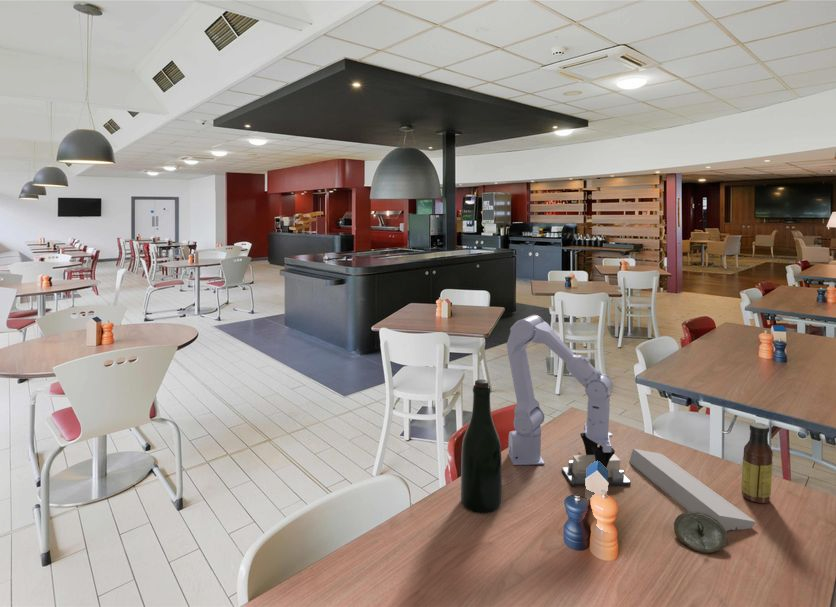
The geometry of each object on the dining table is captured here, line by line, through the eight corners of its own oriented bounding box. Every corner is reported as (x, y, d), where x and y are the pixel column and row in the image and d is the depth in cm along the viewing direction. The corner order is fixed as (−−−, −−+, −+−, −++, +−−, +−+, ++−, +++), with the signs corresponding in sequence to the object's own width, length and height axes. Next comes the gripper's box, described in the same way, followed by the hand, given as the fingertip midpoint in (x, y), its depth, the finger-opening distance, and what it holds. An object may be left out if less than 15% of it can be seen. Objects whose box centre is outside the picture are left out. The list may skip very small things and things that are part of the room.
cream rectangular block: (576, 478, 134) (577, 461, 134) (572, 471, 138) (573, 455, 137) (619, 477, 135) (620, 460, 134) (614, 470, 138) (614, 454, 137)
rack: (572, 487, 132) (572, 475, 131) (561, 470, 141) (562, 459, 140) (630, 485, 132) (631, 473, 132) (616, 468, 141) (617, 457, 140)
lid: (728, 537, 110) (730, 516, 109) (724, 561, 102) (726, 540, 101) (676, 521, 116) (678, 501, 115) (669, 543, 108) (670, 522, 108)
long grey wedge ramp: (657, 468, 147) (628, 463, 145) (662, 454, 146) (633, 448, 144) (749, 540, 114) (713, 534, 112) (755, 521, 113) (719, 515, 111)
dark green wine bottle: (508, 500, 126) (510, 378, 121) (490, 520, 118) (491, 390, 112) (472, 488, 132) (472, 372, 127) (453, 507, 123) (452, 383, 118)
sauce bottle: (768, 495, 126) (776, 423, 123) (771, 507, 121) (779, 432, 118) (738, 488, 130) (745, 418, 126) (739, 500, 124) (747, 427, 121)
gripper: (623, 429, 126) (621, 477, 129) (601, 408, 141) (599, 452, 143) (597, 430, 126) (594, 478, 129) (577, 409, 141) (576, 453, 143)
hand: (595, 464), depth 136 cm, fingers open, 7 cm apart
